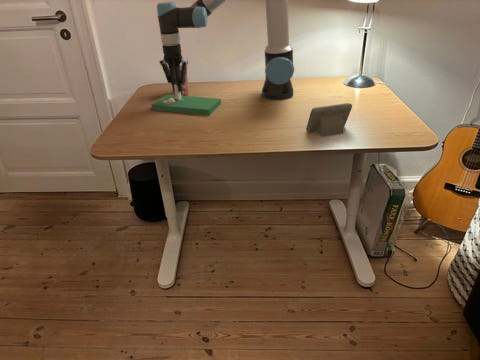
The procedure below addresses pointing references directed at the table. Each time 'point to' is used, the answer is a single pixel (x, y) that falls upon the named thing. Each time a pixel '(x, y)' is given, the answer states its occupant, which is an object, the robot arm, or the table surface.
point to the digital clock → (329, 119)
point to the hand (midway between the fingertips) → (178, 98)
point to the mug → (183, 85)
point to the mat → (187, 104)
